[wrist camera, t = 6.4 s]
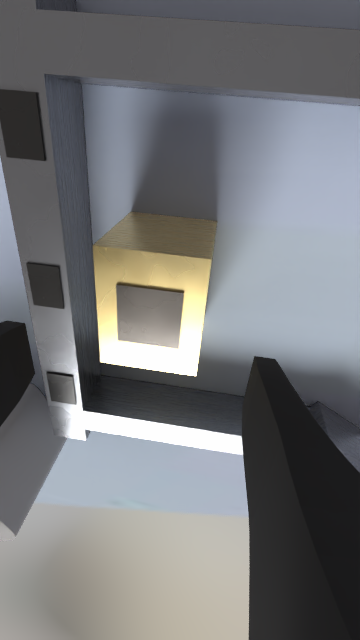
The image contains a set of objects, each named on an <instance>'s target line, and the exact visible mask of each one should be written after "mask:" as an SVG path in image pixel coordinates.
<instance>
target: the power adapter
mask: <svg viewBox="0 0 360 640" xmlns="http://www.w3.org/2000/svg"><path fill="white" fill-rule="evenodd" d="M66 440H67V437H61V436H55V435H54V434H53V428H52V423H51V418H50V413H49V408H48V402H47V399H46V398H45V396H44V395H43V394H42V392H41V391H40V390H39V389H38V388H37V387H36V386H35V385H33V384H31V383H30V384H29V386H28V388H27V389H26V391H25V393H24V394H23V396H22V398H21V400H20V401H19V402H18V404H17V405H16V407H15V408H14V409H13V411H12V412H11V413H10V415H9V416H8V417H7V419H6V420H5V421H4V423H3V424H2V425H1V427H0V541H10V540H14V539H15V537H16V535H17V533H18V531H19V529H20V528H21V526H22V524H23V522H24V520H25V518H26V516H27V514H28V512H29V510H30V509H31V507H32V505H33V503H34V501H35V499H36V497H37V495H38V493H39V491H40V489H41V487H42V486H43V484H44V482H45V480H46V478H47V476H48V474H49V472H50V470H51V468H52V466H53V464H54V463H55V461H56V459H57V457H58V455H59V453H60V451H61V449H62V447H63V445H64V443H65V442H66Z"/></svg>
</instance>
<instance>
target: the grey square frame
mask: <svg viewBox="0 0 360 640" xmlns="http://www.w3.org/2000/svg"><path fill="white" fill-rule="evenodd" d="M81 84H94V85H106V86H118V87H131V88H143V89H155V90H168V91H180V92H193V93H205V94H217V95H230V96H242V97H254V98H267V99H279V100H292V101H304V102H316V103H329V104H341V105H353V106H360V30H354V29H338V28H323V27H307V26H291V25H275V24H260V23H244V22H228V21H213V20H197V19H181V18H165V17H150V16H134V15H118V14H103V13H87V12H76V0H0V157H1V162H2V167H3V173H4V178H5V183H6V188H7V193H8V199H9V204H10V209H11V214H12V220H13V225H14V230H15V235H16V240H17V246H18V251H19V256H20V261H21V267H22V272H23V277H24V282H25V287H26V293H27V298H28V303H29V308H30V314H31V319H32V324H33V329H34V334H35V340H36V345H37V350H38V355H39V361H40V366H41V371H42V376H43V381H44V387H45V392H46V397H47V402H48V408H49V413H50V418H51V423H52V428H53V434H54V435H55V436H61V437H67V438H73V439H79V440H85V441H86V440H87V438H88V436H89V433H90V431H91V430H93V431H99V432H105V433H111V434H117V435H123V436H129V437H135V438H141V439H148V440H154V441H160V442H166V443H172V444H178V445H184V446H190V447H196V448H203V449H209V450H215V451H221V452H227V453H233V454H239V455H243V446H242V406H243V402H244V397H242V396H235V395H228V394H222V393H215V392H208V391H202V390H195V389H188V388H182V387H175V386H168V385H162V384H155V383H148V382H142V381H135V380H128V379H122V378H115V377H109V376H102V375H101V366H100V352H99V337H98V322H97V308H96V293H95V278H94V264H93V249H92V234H91V220H90V205H89V190H88V176H87V161H86V146H85V132H84V117H83V102H82V88H81ZM306 407H307V408H308V410H309V411H310V413H311V414H312V415H313V417H314V418H315V420H316V421H317V422H318V424H319V425H320V426H321V428H322V429H323V430H324V432H325V433H326V434H327V435H328V437H329V438H330V439H331V440H332V442H333V443H334V444H335V445H336V447H337V448H338V449H339V450H340V451H341V453H342V454H343V455H344V456H345V457H346V458H347V459H348V460H349V462H350V463H351V464H352V465H353V466H354V467H355V468H356V469H357V470H358V471H359V473H360V429H359V428H357V427H356V426H354V425H353V424H351V423H350V422H348V421H347V420H345V419H344V418H342V417H341V416H339V415H338V414H336V413H335V412H333V411H332V410H330V409H329V408H327V407H326V406H324V405H323V404H321V403H320V402H317V403H315V404H314V405H312V406H311V407H308V406H306Z"/></svg>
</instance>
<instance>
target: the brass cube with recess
mask: <svg viewBox="0 0 360 640" xmlns="http://www.w3.org/2000/svg"><path fill="white" fill-rule="evenodd" d="M216 227H217V221H212V220H203V219H193V218H184V217H175V216H166V215H157V214H148V213H139V212H130V213H129V214H128V215H127V216H126V217H124V218H123V219H122V220H121V221H120V222H119V223H118V224H116V225H115V226H114V227H113V228H112V229H111V230H110V231H108V232H107V233H106V234H105V235H104V236H103V237H102V238H100V239H99V240H98V241H97V242H96V243H95V244H94V245H93V259H94V273H95V288H96V303H97V318H98V333H99V348H100V362H102V363H109V364H116V365H123V366H130V367H136V368H143V369H150V370H157V371H163V372H170V373H177V374H184V375H191V376H196V374H197V367H198V360H199V353H200V346H201V339H202V332H203V325H204V318H205V310H206V303H207V295H208V287H209V280H210V272H211V265H212V257H213V250H214V242H215V234H216Z"/></svg>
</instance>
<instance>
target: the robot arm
mask: <svg viewBox="0 0 360 640" xmlns="http://www.w3.org/2000/svg"><path fill="white" fill-rule="evenodd" d="M34 374H35V371H34V366H33V361H32V356H31V351H30V346H29V341H28V336H27V331H26V326H25V323H19V322H12V321H4V322H1V323H0V427H1V425H2V424H3V423H4V421H5V420H6V419H7V417H8V416H9V415H10V413H11V412H12V411H13V409H14V408H15V407H16V405H17V404H18V402H19V401H20V400H21V398H22V396H23V394H24V393H25V391H26V389H27V388H28V386H29V384H30V382H31V380H32V378H33V376H34ZM242 446H243V458H244V468H245V479H246V490H247V501H248V511H249V529H250V530H249V531H250V582H249V583H250V585H249V591H250V592H249V640H360V473H359V471H358V470H357V469H356V468H355V467H354V466H353V465H352V464H351V463H350V462H349V460H348V459H347V458H346V457H345V456H344V455H343V454H342V453H341V451H340V450H339V449H338V448H337V447H336V445H335V444H334V443H333V442H332V440H331V439H330V438H329V437H328V435H327V434H326V433H325V432H324V430H323V429H322V428H321V426H320V425H319V424H318V422H317V421H316V420H315V418H314V417H313V415H312V414H311V413H310V411H309V410H308V408H307V407H306V406H305V404H304V403H303V401H302V400H301V398H300V397H299V395H298V394H297V392H296V391H295V389H294V388H293V386H292V385H291V383H290V382H289V380H288V378H287V377H286V375H285V374H284V372H283V370H282V369H281V367H280V365H279V364H278V362H277V361H276V360H275V359H270V358H263V357H256V356H254V360H253V364H252V368H251V373H250V377H249V381H248V385H247V389H246V393H245V397H244V402H243V406H242Z"/></svg>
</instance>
